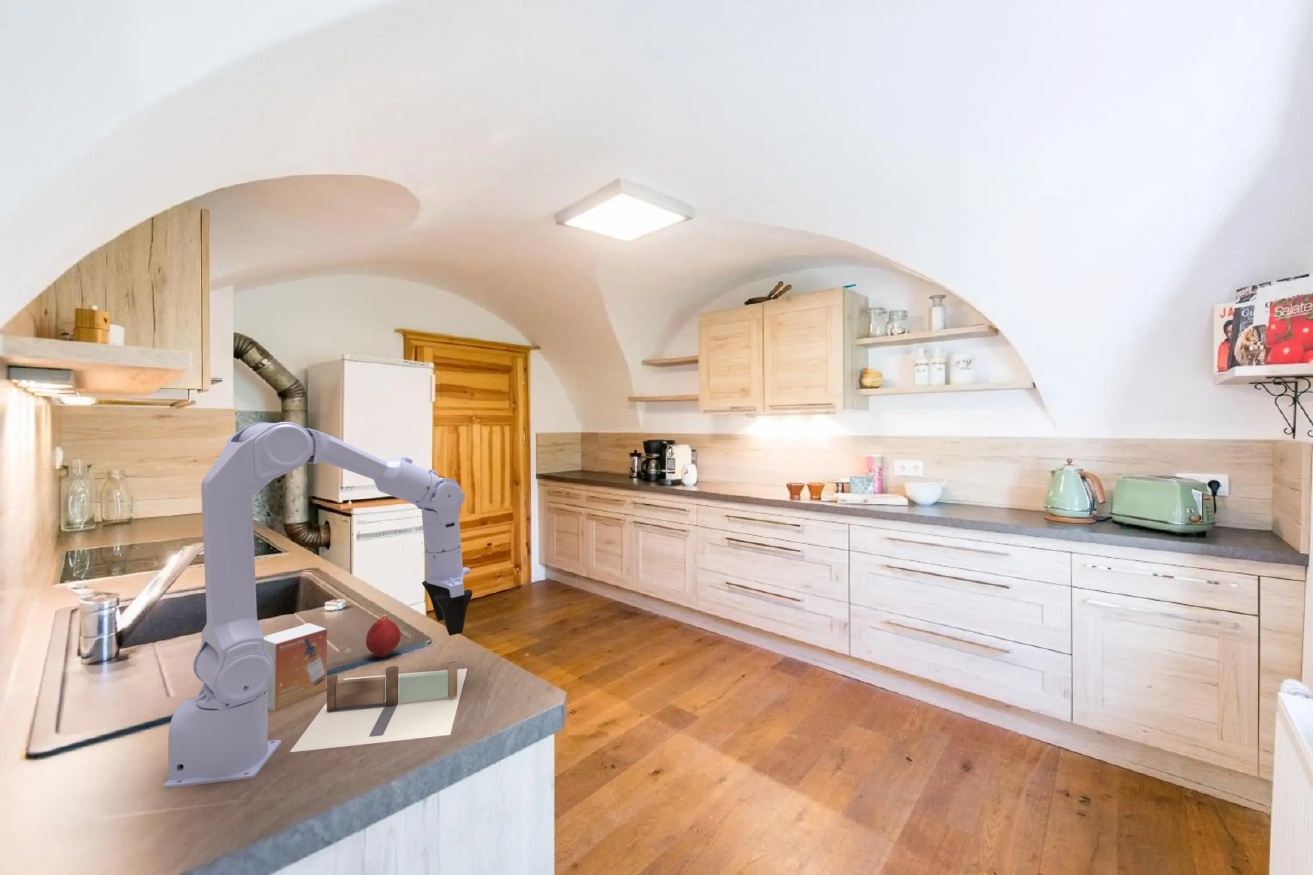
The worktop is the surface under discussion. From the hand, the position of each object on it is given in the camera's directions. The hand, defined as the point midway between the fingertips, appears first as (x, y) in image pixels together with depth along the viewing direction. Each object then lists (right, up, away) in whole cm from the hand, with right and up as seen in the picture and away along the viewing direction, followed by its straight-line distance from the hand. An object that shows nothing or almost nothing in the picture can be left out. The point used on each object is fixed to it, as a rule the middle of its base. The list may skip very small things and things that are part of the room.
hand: (449, 626), depth 94 cm
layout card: (-6, -10, -8) cm, 14 cm away
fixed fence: (-10, -9, -9) cm, 16 cm away
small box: (-23, -10, -6) cm, 25 cm away
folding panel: (-1, -9, -7) cm, 11 cm away
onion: (-16, -10, +10) cm, 21 cm away
